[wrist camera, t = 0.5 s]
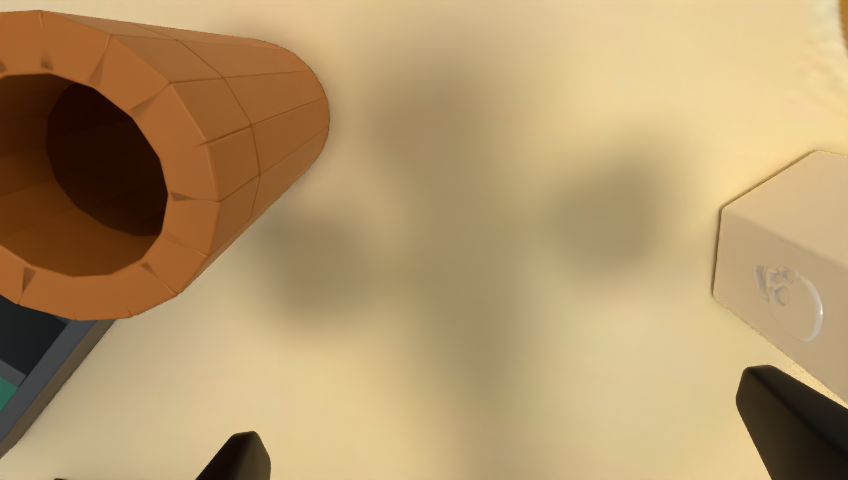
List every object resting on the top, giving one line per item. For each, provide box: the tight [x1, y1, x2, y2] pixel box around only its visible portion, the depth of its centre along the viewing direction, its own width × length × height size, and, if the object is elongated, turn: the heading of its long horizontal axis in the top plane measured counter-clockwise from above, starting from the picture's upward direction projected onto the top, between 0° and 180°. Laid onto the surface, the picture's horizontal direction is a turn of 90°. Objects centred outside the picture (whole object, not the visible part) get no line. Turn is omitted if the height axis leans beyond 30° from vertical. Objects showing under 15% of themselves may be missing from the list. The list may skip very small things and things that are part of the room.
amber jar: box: [0, 10, 329, 321], centre depth 15 cm, size 6×6×12 cm
